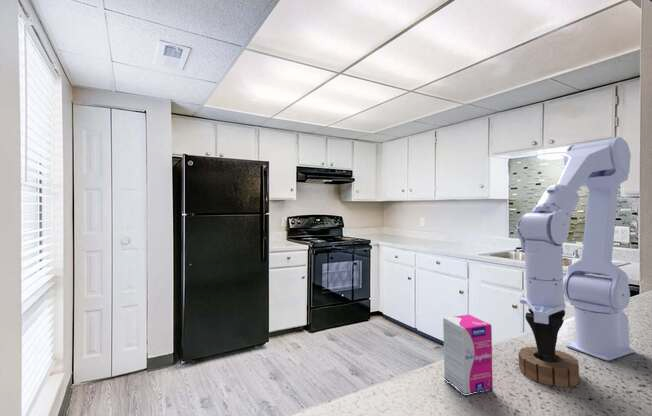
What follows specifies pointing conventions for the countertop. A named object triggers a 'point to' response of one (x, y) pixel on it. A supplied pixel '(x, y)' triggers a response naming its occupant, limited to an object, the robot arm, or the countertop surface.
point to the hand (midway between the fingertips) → (547, 351)
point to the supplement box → (468, 353)
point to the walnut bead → (549, 368)
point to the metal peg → (547, 357)
